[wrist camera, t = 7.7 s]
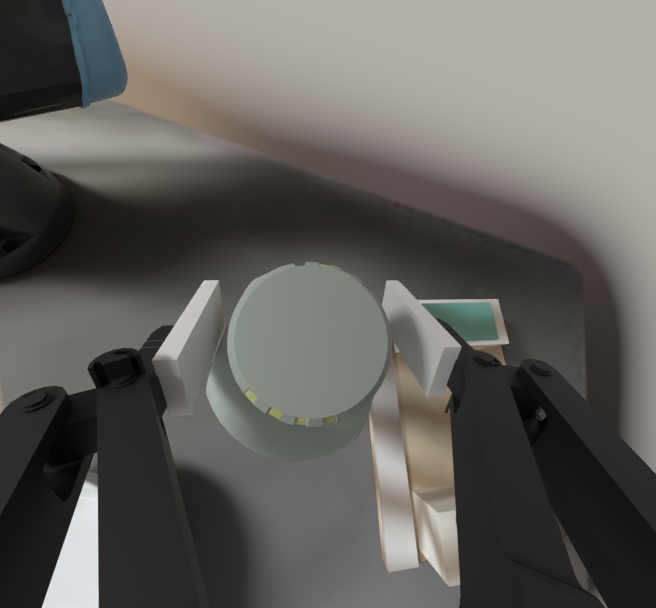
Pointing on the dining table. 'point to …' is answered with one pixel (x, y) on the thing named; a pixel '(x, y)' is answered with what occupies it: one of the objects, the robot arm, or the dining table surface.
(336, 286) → the air freshener
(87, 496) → the serving bowl
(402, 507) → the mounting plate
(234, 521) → the dining table surface
